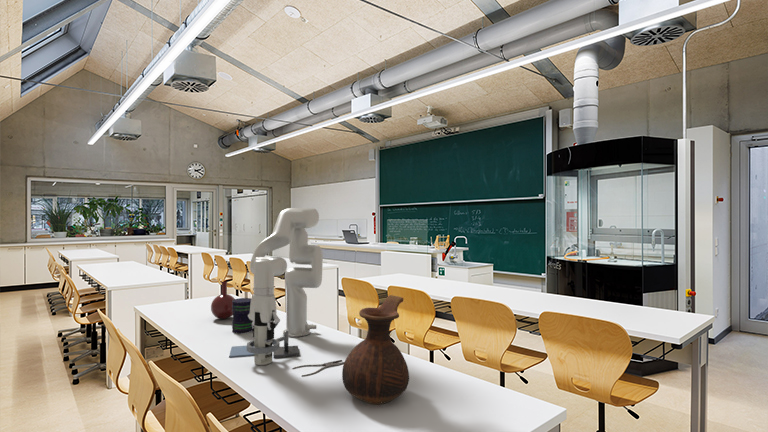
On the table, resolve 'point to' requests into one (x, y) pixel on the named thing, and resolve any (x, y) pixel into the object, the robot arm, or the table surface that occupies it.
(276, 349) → the ring stand
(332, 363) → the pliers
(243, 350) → the mat
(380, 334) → the jug
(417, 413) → the table surface
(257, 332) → the spray can
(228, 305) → the round-bottom flask
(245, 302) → the storage jar
